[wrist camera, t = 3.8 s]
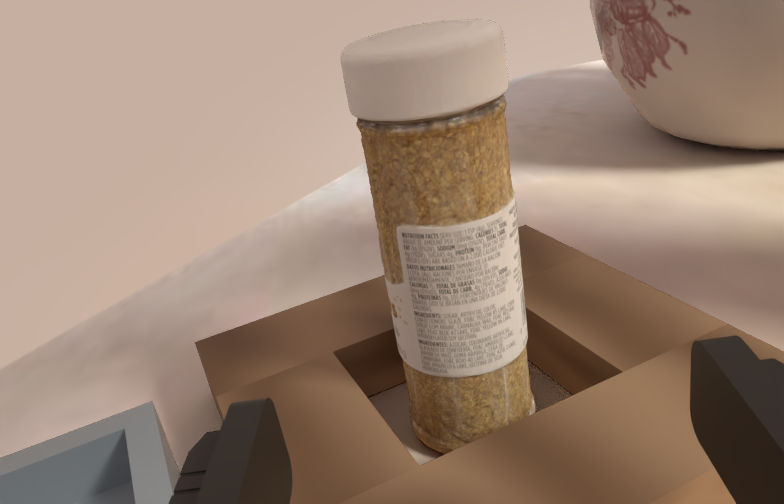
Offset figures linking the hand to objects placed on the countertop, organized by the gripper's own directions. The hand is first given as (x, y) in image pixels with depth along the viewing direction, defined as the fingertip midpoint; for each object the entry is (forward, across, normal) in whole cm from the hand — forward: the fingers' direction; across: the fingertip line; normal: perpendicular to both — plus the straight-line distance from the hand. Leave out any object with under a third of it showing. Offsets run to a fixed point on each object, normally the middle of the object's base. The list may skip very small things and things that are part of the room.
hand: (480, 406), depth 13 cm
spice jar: (+9, 0, +8) cm, 12 cm away
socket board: (+9, 0, +8) cm, 12 cm away
